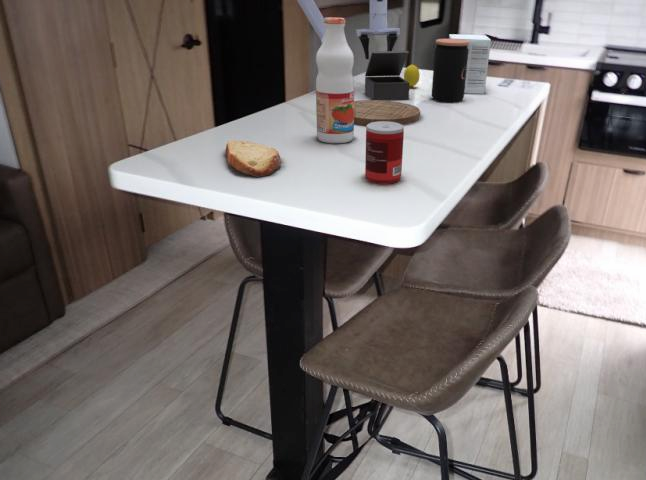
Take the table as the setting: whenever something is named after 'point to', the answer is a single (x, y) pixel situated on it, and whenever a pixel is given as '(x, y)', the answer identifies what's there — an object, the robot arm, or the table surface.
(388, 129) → the canned food
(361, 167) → the table surface
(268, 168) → the bread slice
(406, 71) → the lemon
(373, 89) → the dark grey square box
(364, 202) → the table surface
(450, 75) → the coffee jar
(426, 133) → the table surface
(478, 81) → the supplement box
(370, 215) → the table surface
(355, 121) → the trivet
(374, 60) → the dark grey box lid
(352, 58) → the fruit juice
